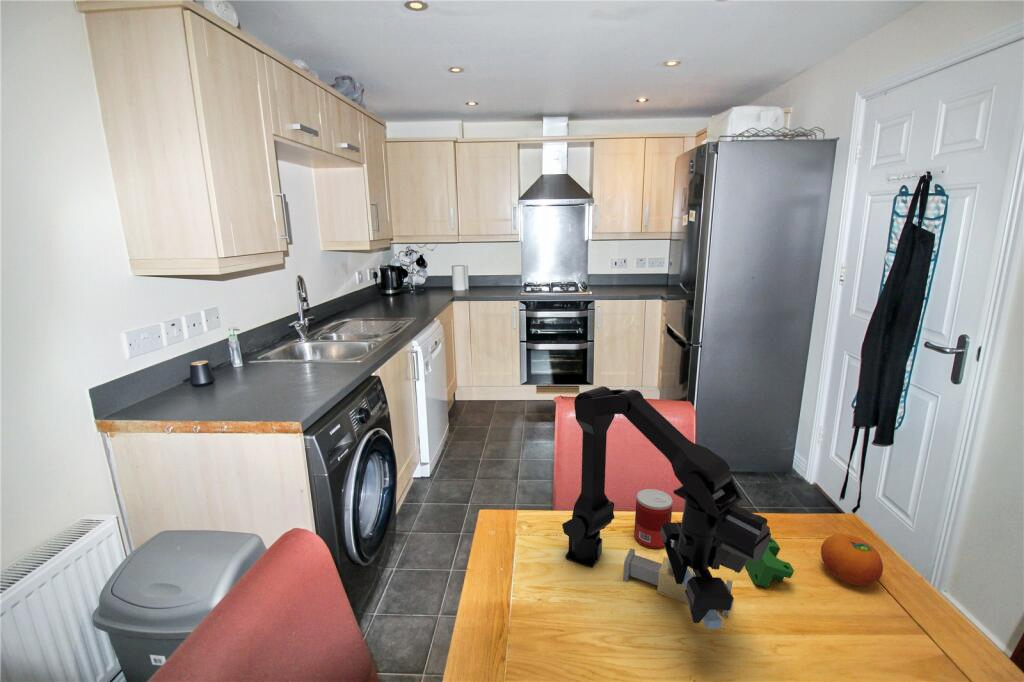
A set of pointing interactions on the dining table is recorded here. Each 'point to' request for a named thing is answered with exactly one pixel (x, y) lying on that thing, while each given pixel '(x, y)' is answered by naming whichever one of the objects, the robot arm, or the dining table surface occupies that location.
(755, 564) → the green bracket
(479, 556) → the dining table surface
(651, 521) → the canned food
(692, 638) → the dining table surface
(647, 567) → the pipe valve
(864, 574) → the fruit
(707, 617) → the lever
